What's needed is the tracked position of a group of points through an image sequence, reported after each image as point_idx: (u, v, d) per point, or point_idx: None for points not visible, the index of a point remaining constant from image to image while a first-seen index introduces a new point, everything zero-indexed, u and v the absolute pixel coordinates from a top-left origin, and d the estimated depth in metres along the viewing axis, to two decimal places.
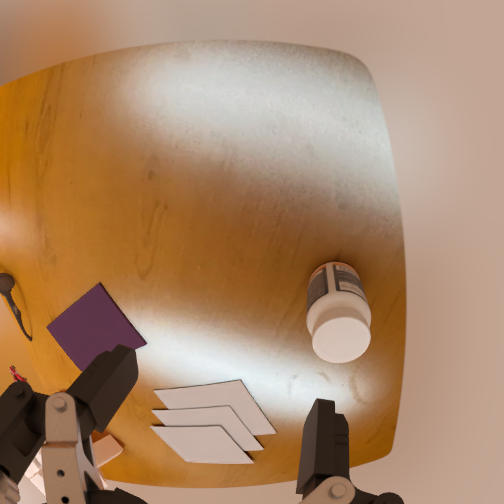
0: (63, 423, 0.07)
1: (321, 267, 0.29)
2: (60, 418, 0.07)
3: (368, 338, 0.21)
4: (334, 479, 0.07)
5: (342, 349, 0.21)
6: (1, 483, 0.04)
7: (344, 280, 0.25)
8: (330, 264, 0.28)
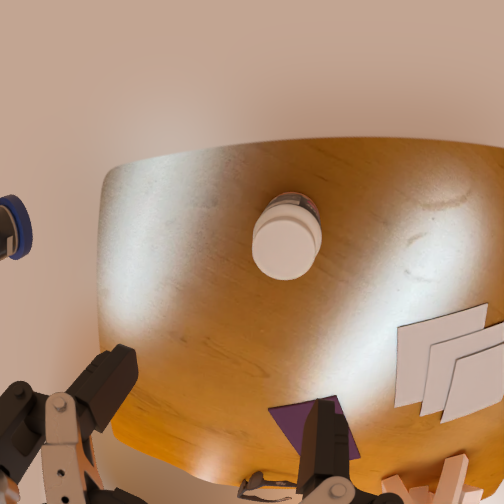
0: (63, 423, 0.07)
1: None
2: (60, 418, 0.07)
3: (283, 222, 0.20)
4: (334, 479, 0.07)
5: (294, 251, 0.21)
6: (1, 483, 0.04)
7: None
8: None
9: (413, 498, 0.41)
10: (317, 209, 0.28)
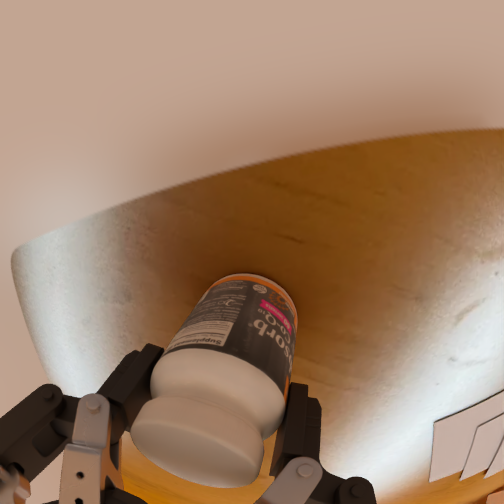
0: (99, 425, 0.07)
1: None
2: (91, 420, 0.07)
3: (166, 427, 0.07)
4: (301, 459, 0.07)
5: (212, 464, 0.08)
6: (12, 480, 0.04)
7: None
8: None
9: None
10: (289, 302, 0.15)
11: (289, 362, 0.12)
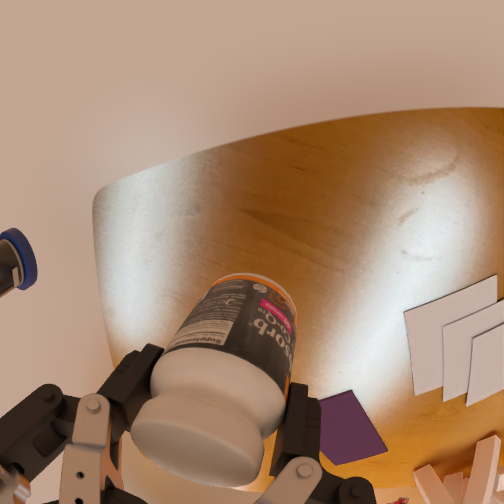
0: (99, 425, 0.07)
1: None
2: (91, 420, 0.07)
3: (166, 426, 0.07)
4: (301, 459, 0.07)
5: (212, 463, 0.08)
6: (12, 480, 0.04)
7: None
8: None
9: (448, 486, 0.37)
10: (289, 301, 0.15)
11: (289, 361, 0.12)
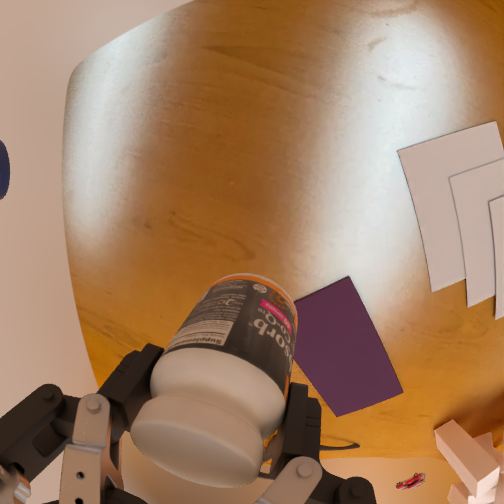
0: (99, 425, 0.07)
1: None
2: (92, 420, 0.07)
3: (166, 426, 0.07)
4: (301, 459, 0.07)
5: (212, 463, 0.08)
6: (12, 480, 0.04)
7: None
8: None
9: None
10: (289, 302, 0.15)
11: (289, 362, 0.12)
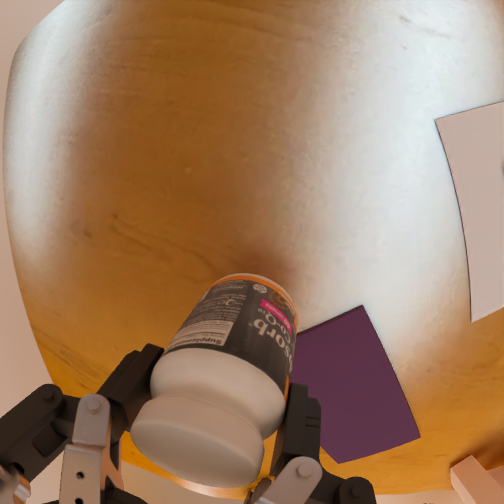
0: (99, 425, 0.07)
1: None
2: (92, 420, 0.07)
3: (166, 426, 0.07)
4: (302, 459, 0.07)
5: (212, 463, 0.08)
6: (12, 480, 0.04)
7: None
8: None
9: None
10: (289, 302, 0.15)
11: (289, 362, 0.12)
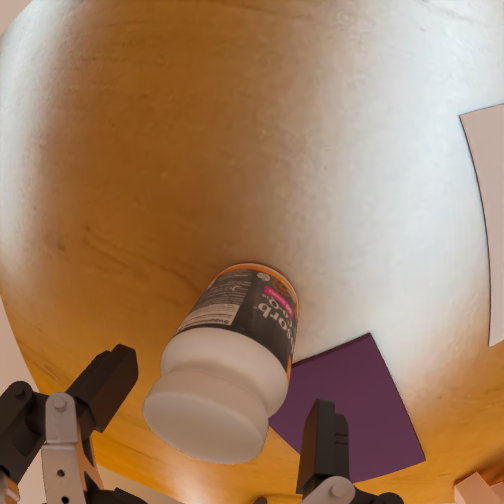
0: (63, 423, 0.07)
1: None
2: (61, 418, 0.07)
3: (178, 398, 0.08)
4: (334, 479, 0.07)
5: (219, 436, 0.09)
6: (1, 483, 0.04)
7: None
8: None
9: None
10: (290, 290, 0.16)
11: (291, 344, 0.13)
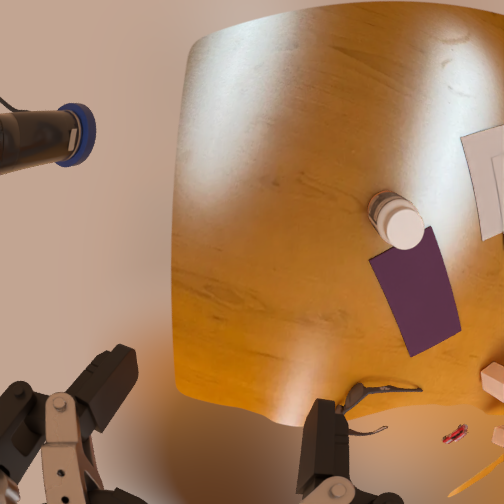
0: (63, 423, 0.07)
1: (370, 221, 0.38)
2: (61, 418, 0.07)
3: (405, 211, 0.28)
4: (334, 479, 0.07)
5: (412, 228, 0.28)
6: (1, 483, 0.04)
7: (373, 214, 0.34)
8: (368, 215, 0.37)
9: None
10: None
11: None
